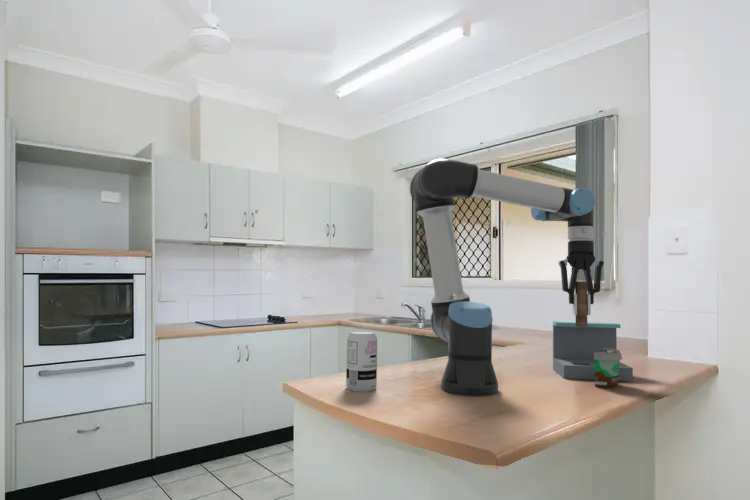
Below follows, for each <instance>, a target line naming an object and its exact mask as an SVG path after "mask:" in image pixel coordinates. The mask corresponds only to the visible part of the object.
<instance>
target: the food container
mask: <svg viewBox="0 0 750 500" xmlns="http://www.w3.org/2000/svg"><path fill="white" fill-rule="evenodd" d="M621 360H623V356H622V353H621V351H620V350H618V349H617V350H616V349H610V348H603V351H602V352H601V351H600V352H594V362H595V380H594V387H595V388H604V389H615V388H618V387H619V381H618V379H619V365H620V362H621Z"/></svg>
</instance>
